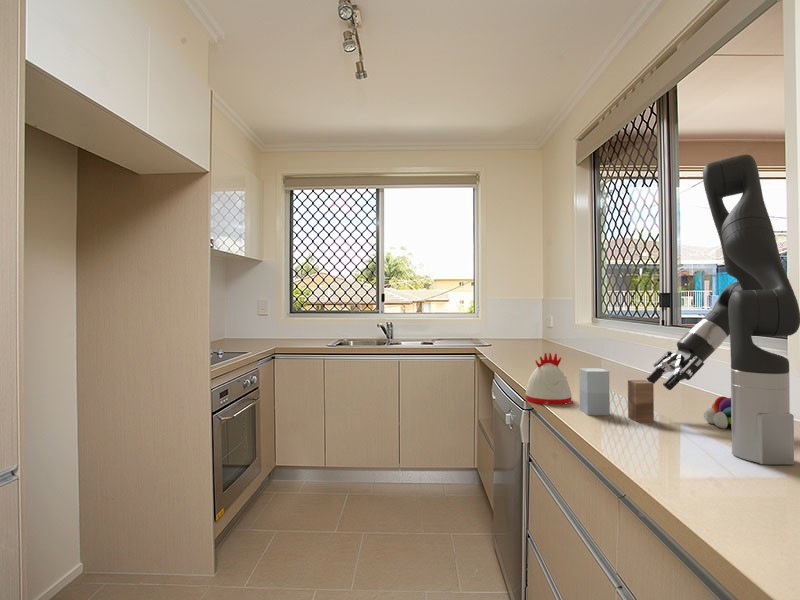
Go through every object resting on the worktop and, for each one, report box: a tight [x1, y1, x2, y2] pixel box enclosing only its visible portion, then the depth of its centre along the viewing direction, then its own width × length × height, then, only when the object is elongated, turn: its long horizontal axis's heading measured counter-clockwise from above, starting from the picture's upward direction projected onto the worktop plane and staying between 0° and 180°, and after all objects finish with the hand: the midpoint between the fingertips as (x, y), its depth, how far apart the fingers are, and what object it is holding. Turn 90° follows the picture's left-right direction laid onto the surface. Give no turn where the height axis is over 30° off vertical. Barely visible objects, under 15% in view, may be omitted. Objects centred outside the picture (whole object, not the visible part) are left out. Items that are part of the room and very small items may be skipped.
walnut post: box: [627, 379, 655, 423], centre depth 123 cm, size 4×4×10 cm
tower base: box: [579, 389, 611, 416], centre depth 131 cm, size 6×6×6 cm
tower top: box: [578, 367, 610, 393], centre depth 132 cm, size 6×6×6 cm
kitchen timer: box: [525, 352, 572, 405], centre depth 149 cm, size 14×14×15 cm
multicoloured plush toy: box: [703, 395, 731, 429], centre depth 117 cm, size 8×10×7 cm
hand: (657, 384), depth 123 cm, fingers open, 8 cm apart
